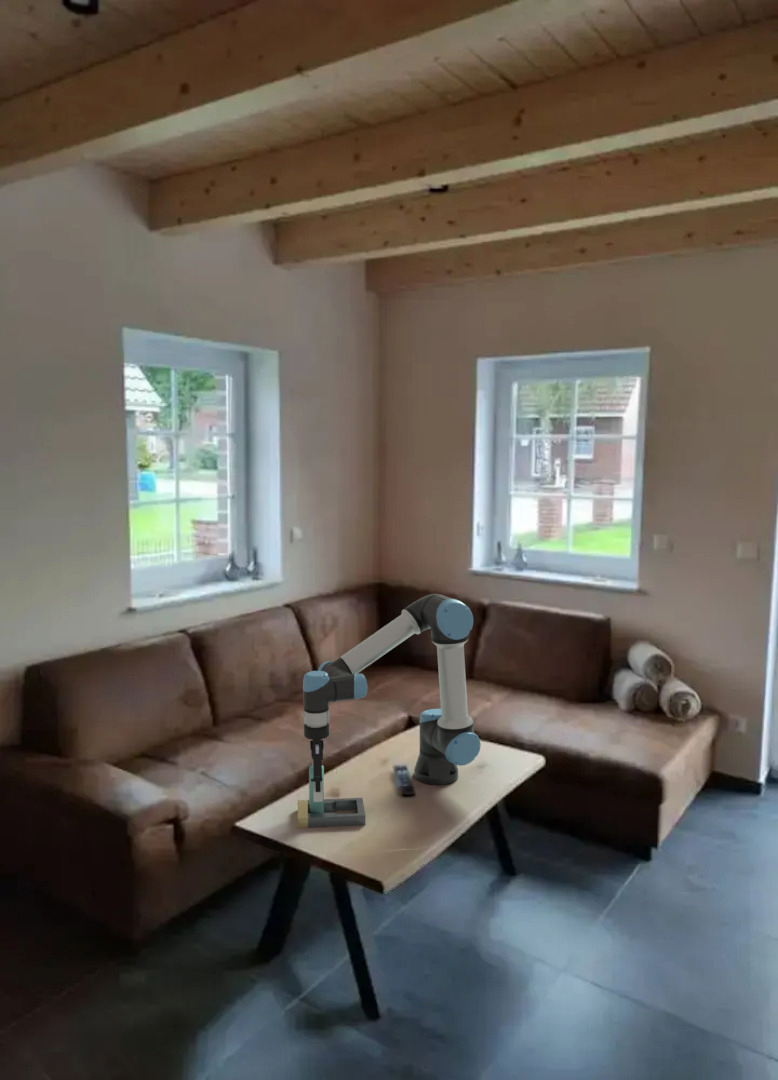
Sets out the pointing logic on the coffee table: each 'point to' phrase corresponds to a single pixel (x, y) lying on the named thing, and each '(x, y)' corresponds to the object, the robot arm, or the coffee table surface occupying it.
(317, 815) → the keyhole plate
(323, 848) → the coffee table surface
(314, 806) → the peg
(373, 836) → the coffee table surface
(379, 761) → the coffee table surface
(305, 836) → the coffee table surface
